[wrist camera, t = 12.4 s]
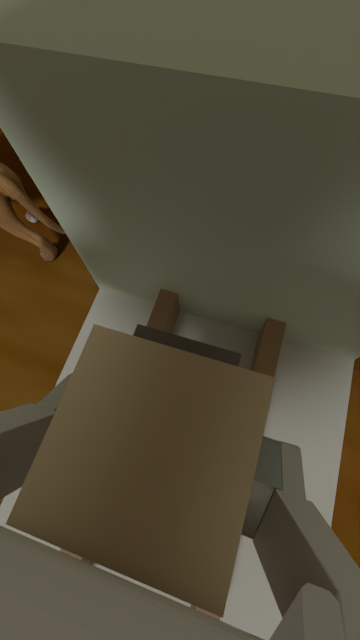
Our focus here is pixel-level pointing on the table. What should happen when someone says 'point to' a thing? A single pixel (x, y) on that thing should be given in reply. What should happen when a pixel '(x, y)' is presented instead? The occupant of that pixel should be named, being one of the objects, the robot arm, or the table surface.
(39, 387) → the table surface
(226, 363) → the beige wooden block
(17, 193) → the lion figurine
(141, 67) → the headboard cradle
